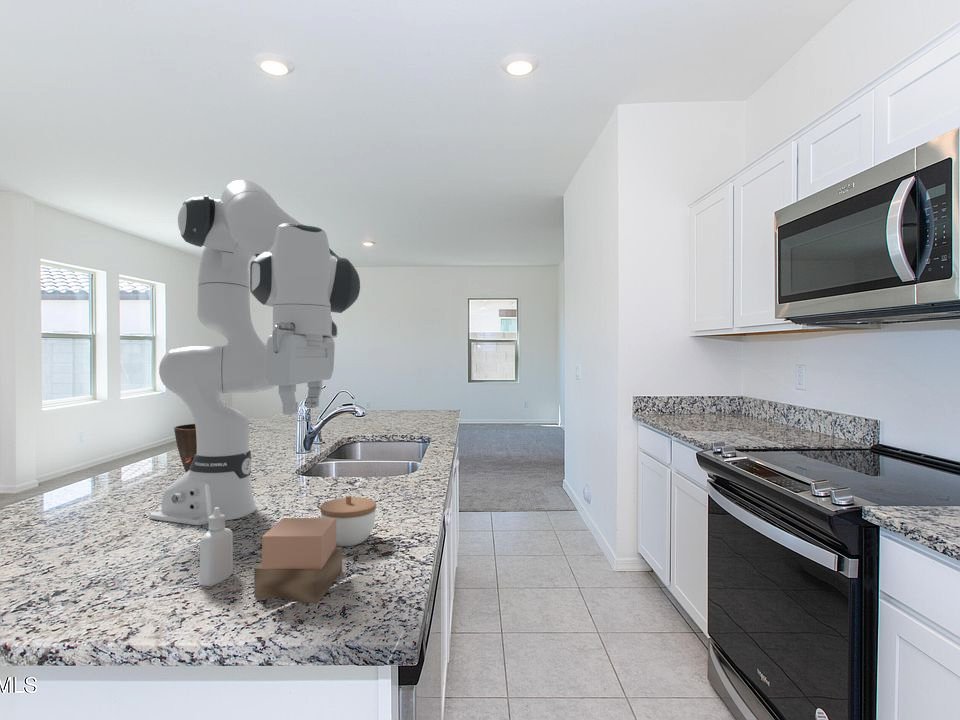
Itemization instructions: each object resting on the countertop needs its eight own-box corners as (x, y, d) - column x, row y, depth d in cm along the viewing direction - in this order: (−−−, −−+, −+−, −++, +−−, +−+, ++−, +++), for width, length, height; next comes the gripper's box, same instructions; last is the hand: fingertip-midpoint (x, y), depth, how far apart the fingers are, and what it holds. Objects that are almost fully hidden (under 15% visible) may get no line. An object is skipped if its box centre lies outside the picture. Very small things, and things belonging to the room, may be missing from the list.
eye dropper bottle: (193, 581, 87) (193, 508, 87) (228, 571, 91) (228, 502, 91) (203, 589, 84) (203, 514, 84) (239, 578, 88) (239, 507, 88)
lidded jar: (347, 557, 98) (348, 506, 98) (308, 546, 104) (308, 498, 104) (387, 540, 107) (387, 494, 107) (348, 530, 113) (349, 486, 113)
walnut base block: (254, 600, 81) (254, 568, 81) (286, 574, 91) (286, 545, 91) (316, 604, 80) (316, 571, 80) (341, 577, 90) (342, 547, 90)
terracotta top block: (262, 569, 81) (262, 536, 81) (282, 547, 90) (282, 518, 90) (321, 568, 81) (321, 536, 81) (336, 547, 90) (336, 517, 90)
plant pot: (161, 484, 152) (161, 428, 152) (197, 472, 167) (197, 421, 167) (208, 486, 150) (208, 429, 150) (240, 474, 164) (241, 423, 164)
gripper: (296, 320, 75) (296, 419, 75) (340, 327, 95) (340, 405, 95) (252, 320, 75) (252, 418, 75) (306, 327, 95) (305, 404, 96)
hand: (302, 410), depth 85 cm, fingers open, 8 cm apart
